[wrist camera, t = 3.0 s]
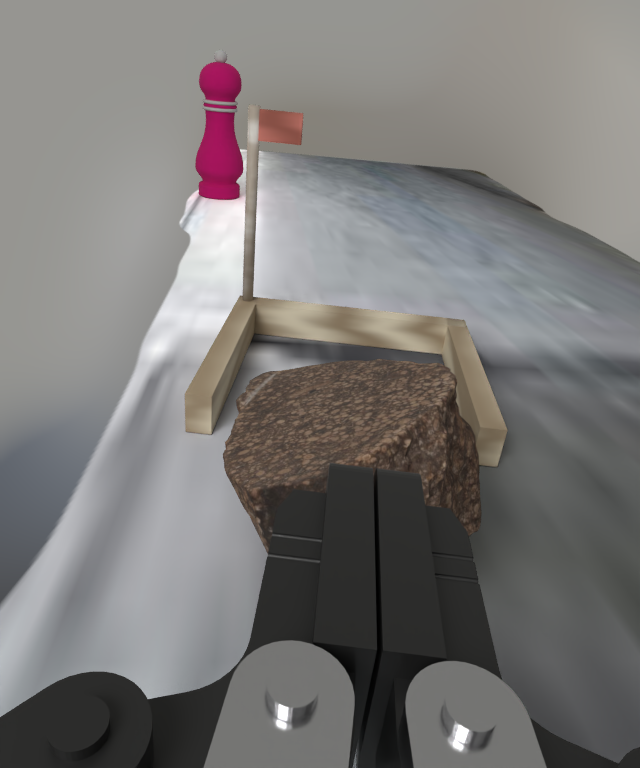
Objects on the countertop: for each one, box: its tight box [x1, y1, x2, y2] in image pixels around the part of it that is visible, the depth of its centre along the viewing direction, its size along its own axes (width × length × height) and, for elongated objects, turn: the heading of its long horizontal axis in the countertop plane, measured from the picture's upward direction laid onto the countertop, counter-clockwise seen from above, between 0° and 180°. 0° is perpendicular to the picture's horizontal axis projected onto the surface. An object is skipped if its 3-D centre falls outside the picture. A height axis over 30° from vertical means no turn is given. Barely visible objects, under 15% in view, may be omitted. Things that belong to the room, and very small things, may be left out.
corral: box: [185, 105, 507, 467], centre depth 38 cm, size 18×16×16 cm
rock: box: [223, 359, 481, 553], centre depth 23 cm, size 12×10×10 cm
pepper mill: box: [196, 50, 243, 200], centre depth 89 cm, size 7×7×20 cm
